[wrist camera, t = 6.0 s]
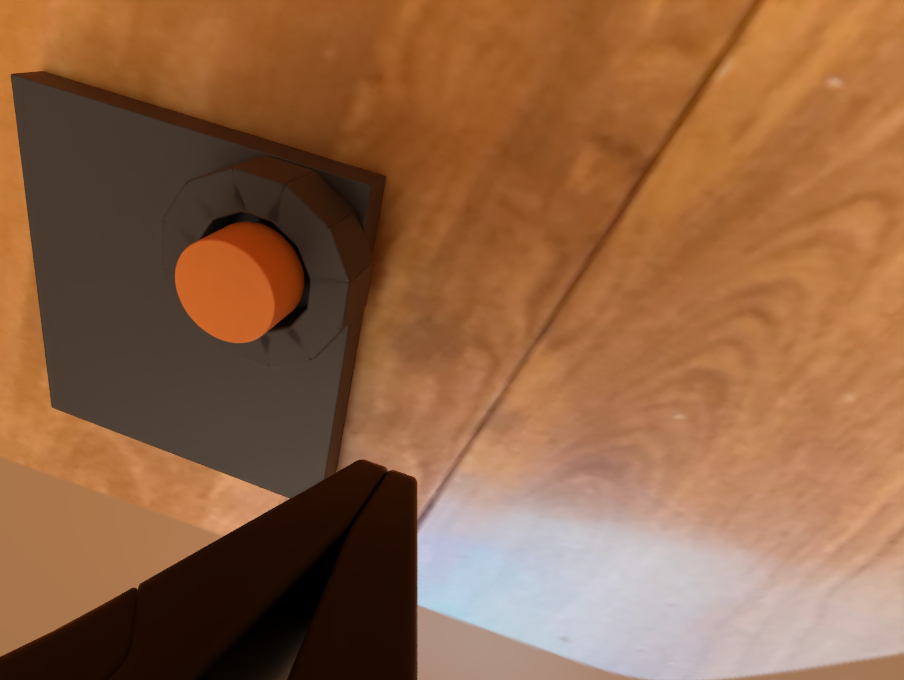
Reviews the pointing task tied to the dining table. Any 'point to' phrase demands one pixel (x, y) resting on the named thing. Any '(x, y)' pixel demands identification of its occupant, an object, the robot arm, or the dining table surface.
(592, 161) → the dining table surface
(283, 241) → the button
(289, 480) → the dark grey flat block
